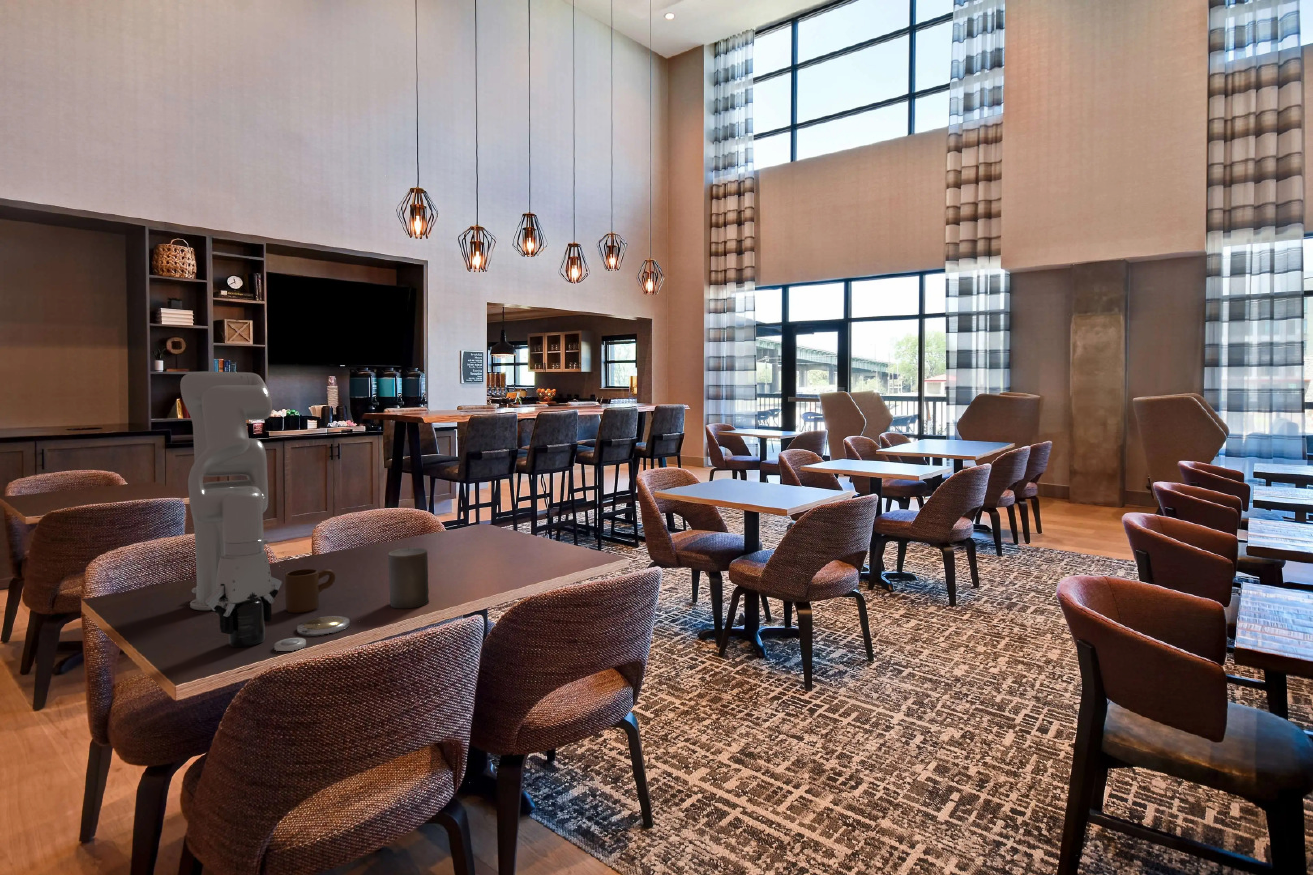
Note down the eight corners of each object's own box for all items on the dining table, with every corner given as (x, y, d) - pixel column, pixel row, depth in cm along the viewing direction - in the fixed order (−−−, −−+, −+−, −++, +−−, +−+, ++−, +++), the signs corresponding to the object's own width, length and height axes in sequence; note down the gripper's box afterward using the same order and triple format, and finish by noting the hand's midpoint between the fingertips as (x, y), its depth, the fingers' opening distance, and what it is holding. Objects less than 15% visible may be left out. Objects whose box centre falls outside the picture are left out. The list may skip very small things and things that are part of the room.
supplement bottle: (272, 637, 159) (270, 584, 158) (251, 648, 152) (249, 593, 152) (243, 636, 160) (241, 583, 159) (221, 647, 153) (219, 592, 152)
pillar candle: (436, 601, 187) (435, 544, 186) (406, 611, 178) (405, 551, 178) (411, 596, 192) (410, 541, 191) (381, 605, 183) (379, 547, 183)
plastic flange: (268, 649, 152) (267, 644, 152) (292, 640, 157) (292, 635, 157) (287, 653, 149) (287, 648, 149) (312, 644, 155) (312, 639, 155)
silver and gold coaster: (286, 631, 163) (286, 626, 163) (326, 617, 173) (326, 612, 173) (320, 638, 159) (320, 633, 159) (359, 624, 169) (359, 619, 169)
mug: (330, 599, 188) (329, 564, 188) (341, 605, 183) (340, 569, 182) (281, 608, 180) (280, 572, 180) (291, 615, 175) (290, 577, 174)
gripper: (268, 539, 164) (271, 613, 165) (192, 554, 148) (195, 636, 150) (291, 542, 161) (293, 617, 162) (216, 558, 145) (219, 642, 146)
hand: (246, 626), depth 156 cm, fingers open, 8 cm apart
